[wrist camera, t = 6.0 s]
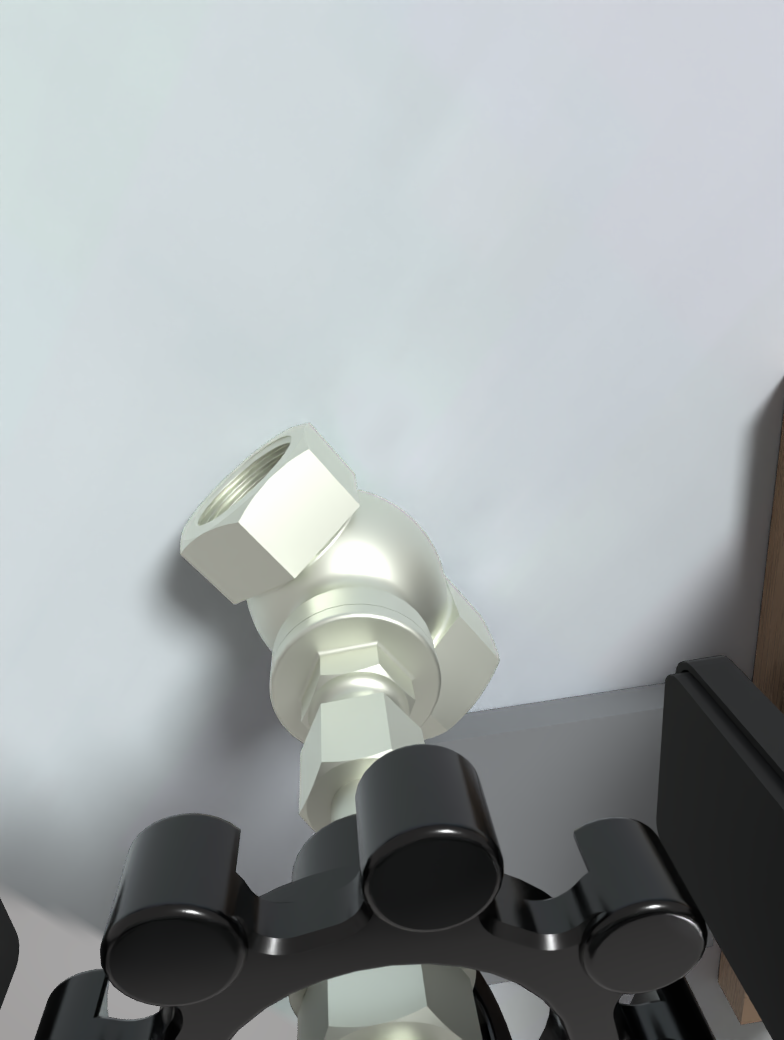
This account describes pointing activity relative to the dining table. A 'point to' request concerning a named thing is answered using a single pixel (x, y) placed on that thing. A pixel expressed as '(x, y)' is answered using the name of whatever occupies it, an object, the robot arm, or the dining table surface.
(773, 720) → the robot arm
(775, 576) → the box
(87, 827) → the dining table surface
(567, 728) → the parts mat
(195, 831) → the valve
